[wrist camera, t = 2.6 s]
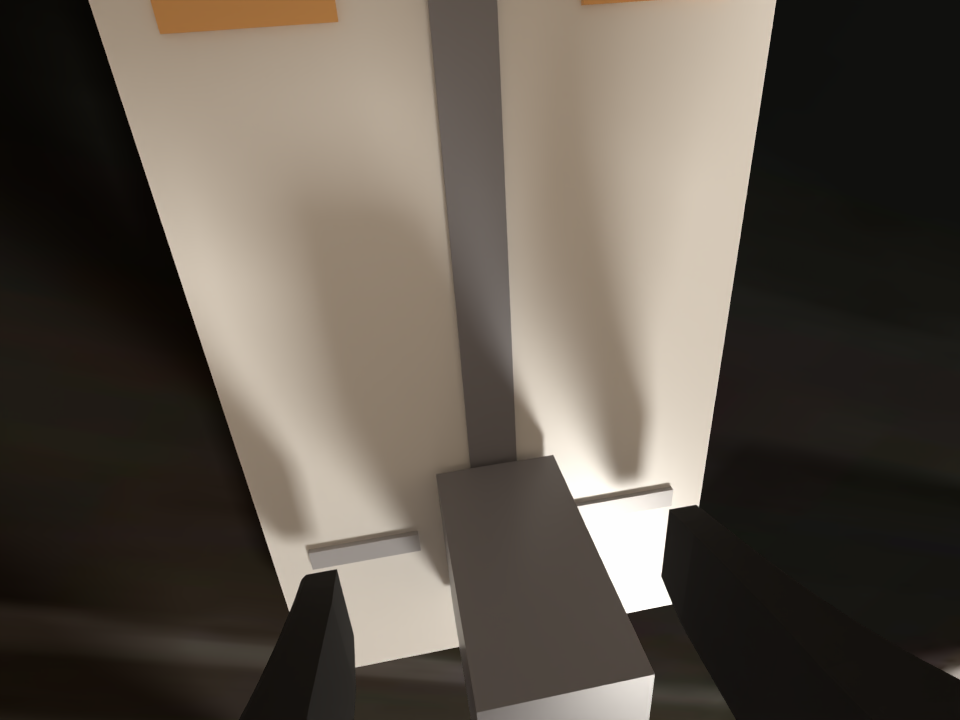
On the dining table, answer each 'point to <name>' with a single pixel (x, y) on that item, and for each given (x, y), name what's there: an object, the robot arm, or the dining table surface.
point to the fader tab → (536, 601)
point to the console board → (450, 260)
